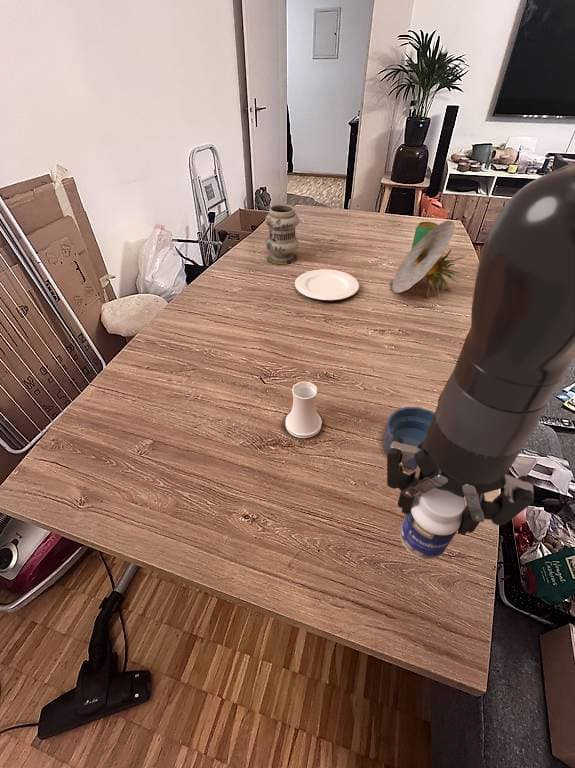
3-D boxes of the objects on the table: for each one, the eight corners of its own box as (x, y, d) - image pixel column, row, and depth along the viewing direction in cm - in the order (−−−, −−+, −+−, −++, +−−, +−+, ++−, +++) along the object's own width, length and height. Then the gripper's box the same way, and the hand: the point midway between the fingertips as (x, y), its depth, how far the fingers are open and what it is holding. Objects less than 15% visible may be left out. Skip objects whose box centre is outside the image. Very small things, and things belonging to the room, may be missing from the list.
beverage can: (428, 253, 143) (436, 220, 135) (434, 262, 137) (443, 229, 129) (407, 253, 143) (414, 221, 135) (412, 262, 137) (420, 229, 129)
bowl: (456, 447, 74) (464, 430, 71) (423, 483, 68) (430, 466, 65) (405, 414, 81) (410, 398, 77) (370, 444, 75) (374, 428, 71)
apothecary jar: (280, 268, 133) (279, 216, 121) (259, 257, 140) (256, 207, 128) (305, 259, 139) (306, 208, 127) (284, 249, 146) (284, 200, 134)
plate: (281, 289, 122) (281, 284, 121) (321, 268, 133) (321, 263, 132) (332, 312, 112) (333, 306, 110) (371, 287, 123) (371, 282, 122)
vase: (312, 443, 75) (314, 408, 68) (279, 430, 78) (278, 395, 71) (326, 418, 80) (330, 383, 73) (295, 407, 83) (295, 372, 76)
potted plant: (420, 333, 116) (497, 279, 102) (383, 293, 111) (459, 231, 98) (415, 301, 136) (479, 253, 122) (383, 266, 131) (446, 212, 118)
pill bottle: (398, 555, 46) (416, 514, 40) (399, 513, 50) (415, 470, 44) (447, 566, 45) (473, 526, 39) (444, 522, 49) (467, 479, 43)
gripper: (389, 425, 33) (365, 521, 44) (581, 482, 28) (498, 573, 39) (406, 373, 38) (380, 472, 49) (570, 415, 33) (500, 512, 44)
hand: (433, 516), depth 44 cm, fingers closed on pill bottle, 5 cm apart
